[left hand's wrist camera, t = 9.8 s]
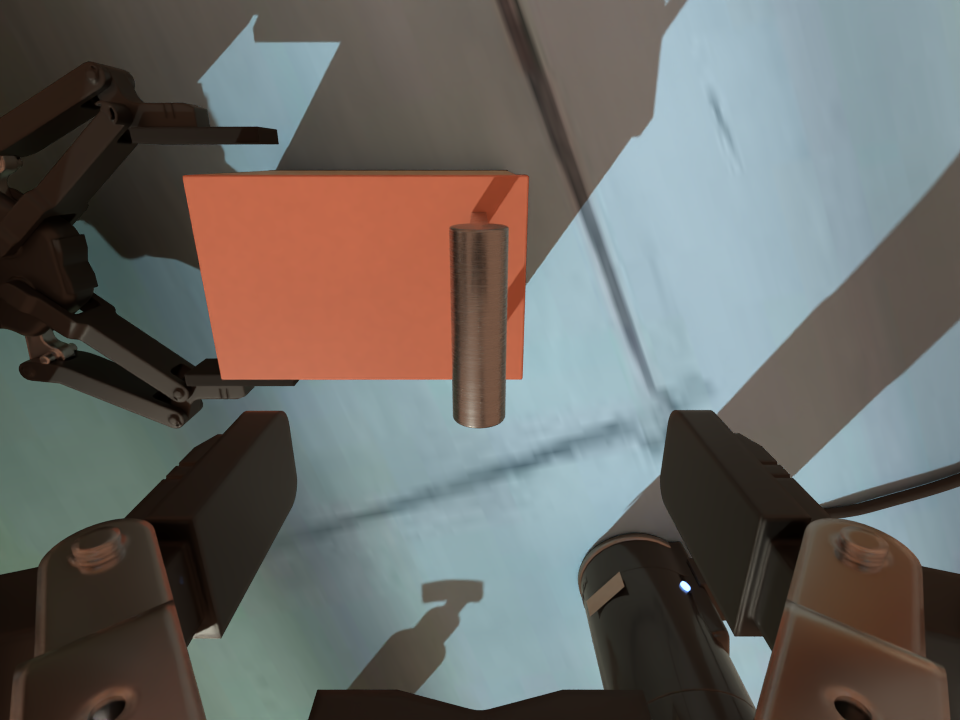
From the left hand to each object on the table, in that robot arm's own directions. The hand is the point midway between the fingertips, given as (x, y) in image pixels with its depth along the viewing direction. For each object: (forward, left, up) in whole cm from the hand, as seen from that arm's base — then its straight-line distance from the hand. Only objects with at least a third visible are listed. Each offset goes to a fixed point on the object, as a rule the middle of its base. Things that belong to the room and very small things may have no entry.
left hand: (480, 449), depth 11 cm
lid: (+6, -1, -17) cm, 17 cm away
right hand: (+11, -2, -21) cm, 23 cm away
